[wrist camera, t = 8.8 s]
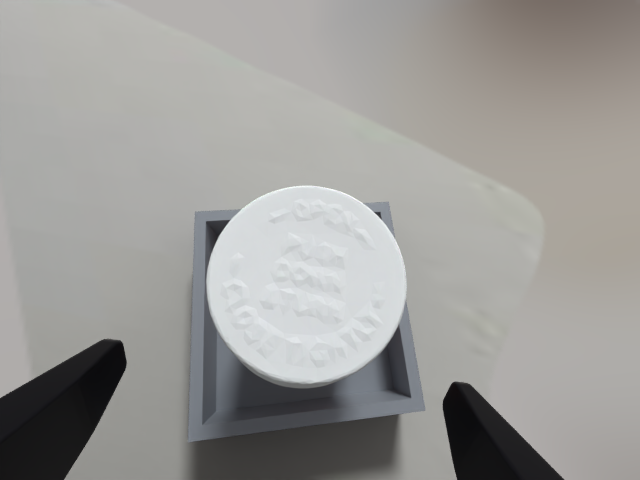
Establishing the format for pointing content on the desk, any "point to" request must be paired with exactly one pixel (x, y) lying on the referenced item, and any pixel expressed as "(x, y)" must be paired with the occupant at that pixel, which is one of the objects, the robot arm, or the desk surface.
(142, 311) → the desk surface
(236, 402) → the slate tray
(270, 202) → the pill bottle
